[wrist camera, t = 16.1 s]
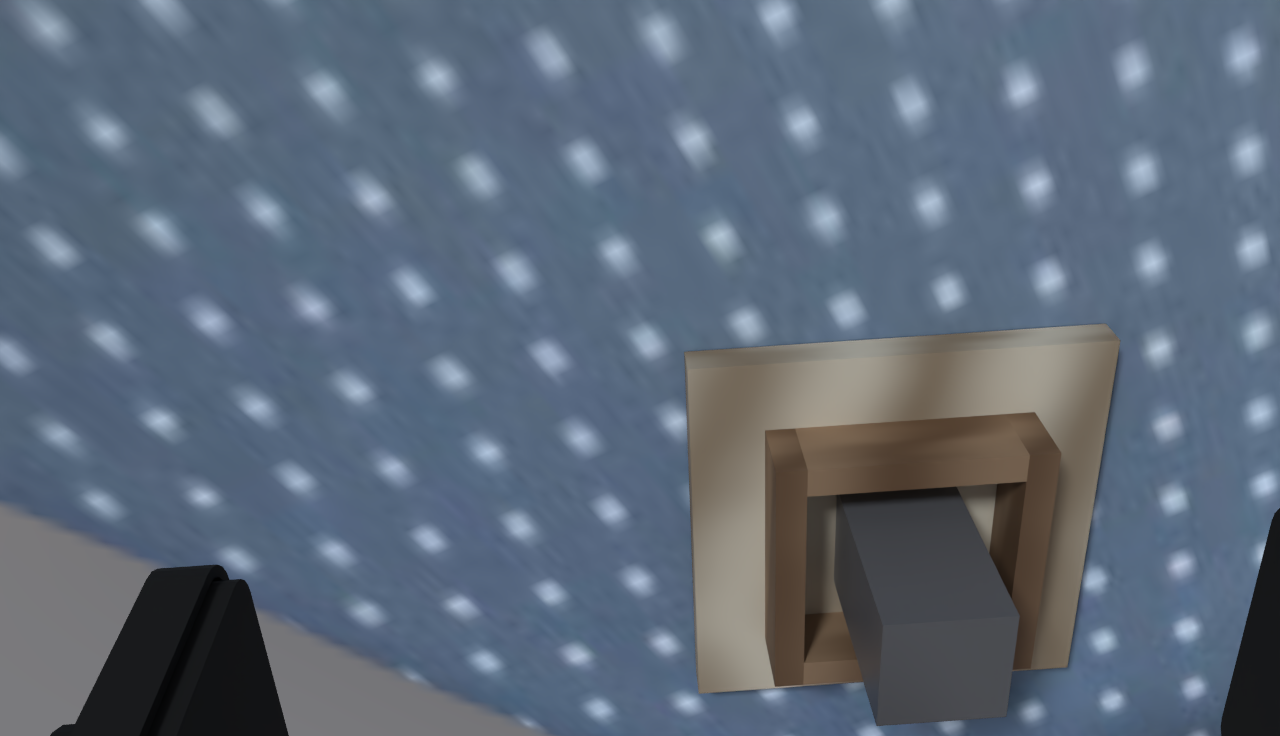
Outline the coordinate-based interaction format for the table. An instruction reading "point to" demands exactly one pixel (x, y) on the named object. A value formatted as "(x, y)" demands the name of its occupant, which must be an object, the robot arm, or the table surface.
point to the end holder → (885, 482)
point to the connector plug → (923, 606)
